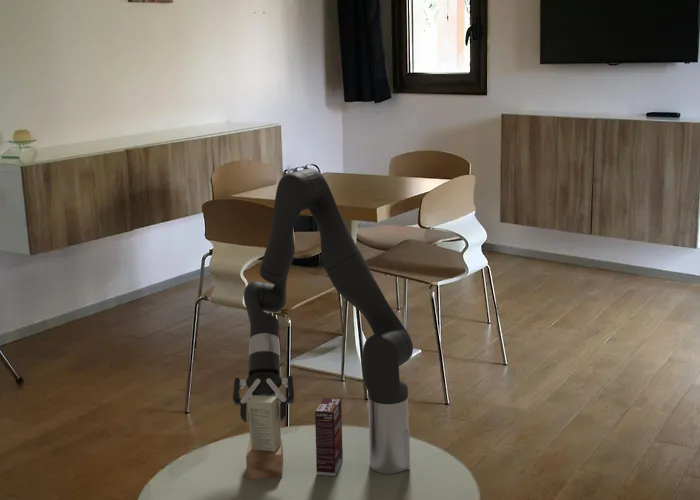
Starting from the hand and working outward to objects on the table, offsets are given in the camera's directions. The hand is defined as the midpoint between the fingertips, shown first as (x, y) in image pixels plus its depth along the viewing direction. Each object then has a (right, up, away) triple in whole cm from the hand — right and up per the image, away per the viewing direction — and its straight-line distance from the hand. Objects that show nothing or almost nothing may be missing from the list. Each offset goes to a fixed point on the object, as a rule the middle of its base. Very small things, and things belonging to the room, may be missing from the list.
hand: (263, 420), depth 202 cm
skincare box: (0, -7, +3) cm, 8 cm away
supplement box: (+15, -12, +5) cm, 20 cm away
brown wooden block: (0, -13, +4) cm, 13 cm away
